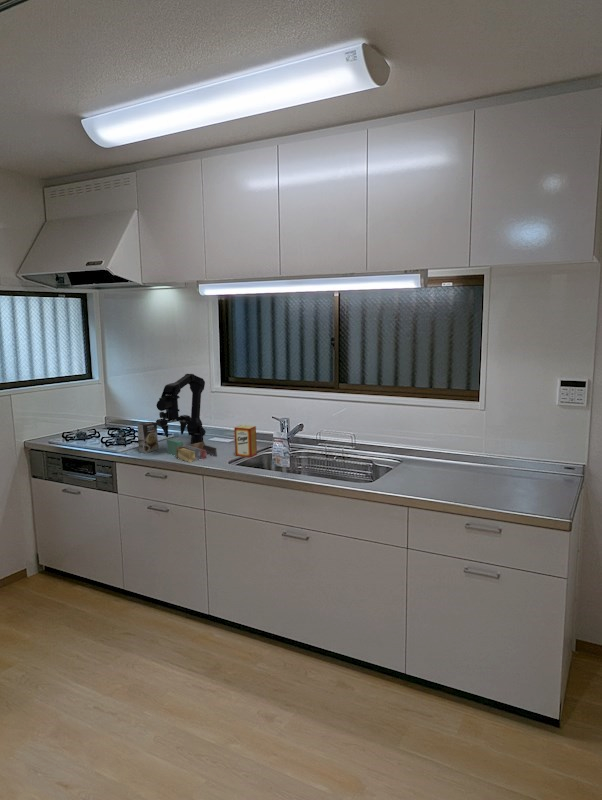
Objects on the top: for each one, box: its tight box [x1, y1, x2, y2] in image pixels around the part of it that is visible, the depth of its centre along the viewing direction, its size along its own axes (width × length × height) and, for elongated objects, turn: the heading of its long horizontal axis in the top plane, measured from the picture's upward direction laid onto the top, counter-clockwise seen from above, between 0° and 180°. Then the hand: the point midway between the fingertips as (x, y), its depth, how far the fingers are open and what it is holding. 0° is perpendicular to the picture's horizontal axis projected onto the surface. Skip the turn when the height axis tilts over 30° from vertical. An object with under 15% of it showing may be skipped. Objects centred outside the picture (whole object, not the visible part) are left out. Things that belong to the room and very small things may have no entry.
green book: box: [166, 437, 184, 457], centre depth 306 cm, size 4×11×8 cm, turn 43°
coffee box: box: [137, 421, 159, 454], centre depth 315 cm, size 9×6×16 cm
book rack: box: [176, 441, 218, 463], centre depth 299 cm, size 17×12×6 cm
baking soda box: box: [234, 424, 258, 458], centre depth 300 cm, size 10×6×16 cm
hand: (174, 435), depth 306 cm, fingers open, 9 cm apart
